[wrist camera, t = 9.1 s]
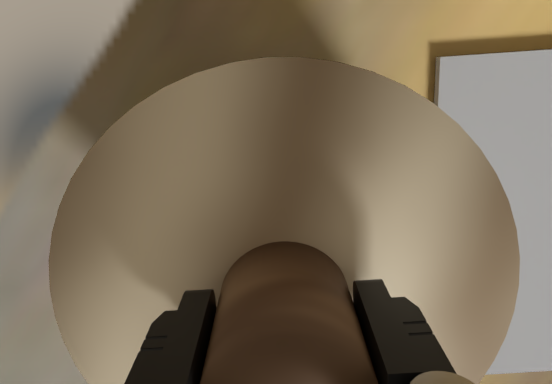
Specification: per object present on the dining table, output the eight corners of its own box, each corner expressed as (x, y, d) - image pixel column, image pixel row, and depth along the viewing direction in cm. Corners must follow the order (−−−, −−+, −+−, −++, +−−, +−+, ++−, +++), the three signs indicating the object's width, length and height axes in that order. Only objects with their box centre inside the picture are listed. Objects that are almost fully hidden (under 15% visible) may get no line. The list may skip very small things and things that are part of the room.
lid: (522, 37, 11) (709, 26, 6) (485, 437, 15) (584, 617, 10) (16, 76, 11) (-172, 93, 7) (110, 459, 15) (36, 645, 10)
